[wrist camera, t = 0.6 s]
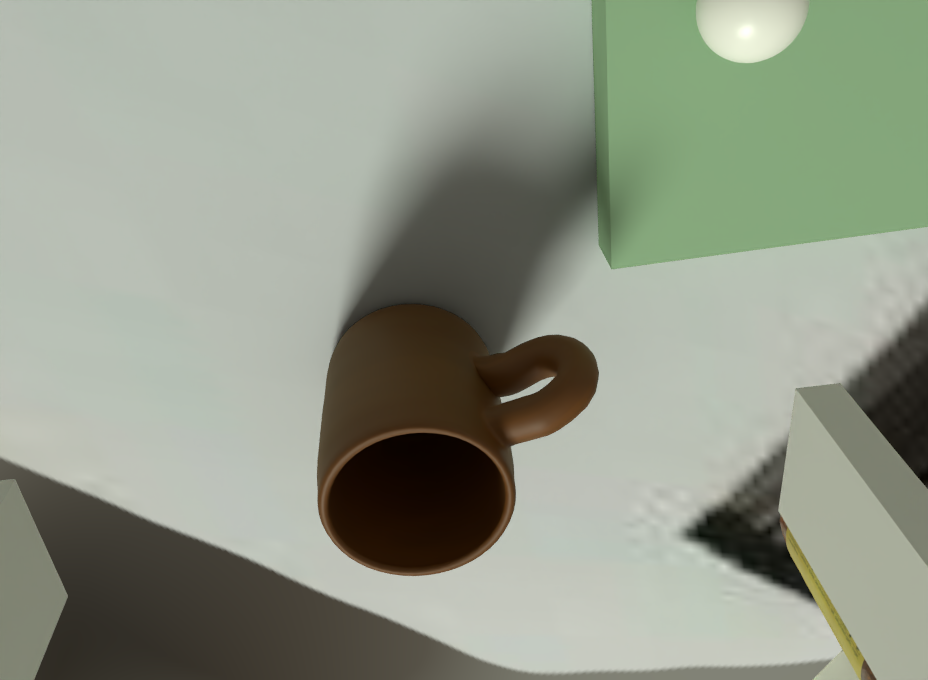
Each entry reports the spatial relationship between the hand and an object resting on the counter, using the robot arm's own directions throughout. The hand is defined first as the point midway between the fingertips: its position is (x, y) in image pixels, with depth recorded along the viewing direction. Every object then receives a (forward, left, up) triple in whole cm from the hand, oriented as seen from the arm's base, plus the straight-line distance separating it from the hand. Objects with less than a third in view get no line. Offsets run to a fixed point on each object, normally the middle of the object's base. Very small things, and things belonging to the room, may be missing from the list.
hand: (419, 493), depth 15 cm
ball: (-3, +12, -18) cm, 22 cm away
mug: (+11, +1, -23) cm, 25 cm away
